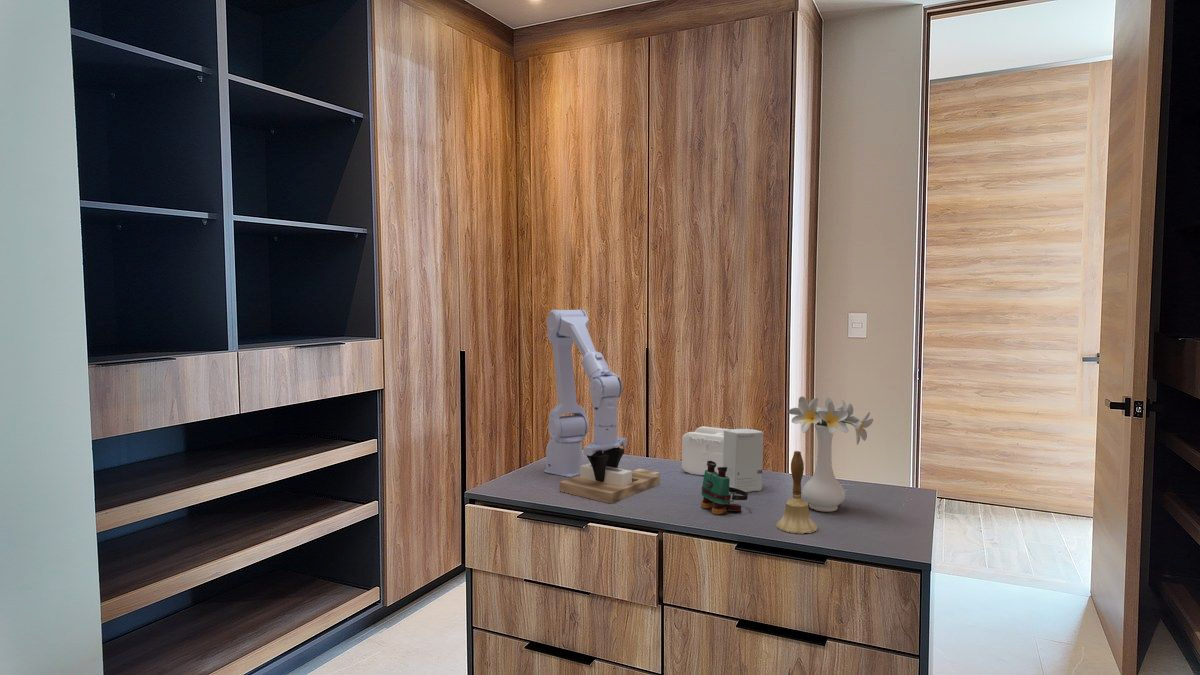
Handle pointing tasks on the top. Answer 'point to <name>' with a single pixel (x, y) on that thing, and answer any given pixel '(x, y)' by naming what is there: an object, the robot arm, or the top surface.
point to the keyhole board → (608, 487)
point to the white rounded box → (702, 449)
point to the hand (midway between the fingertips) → (605, 479)
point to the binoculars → (719, 490)
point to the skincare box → (743, 458)
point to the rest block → (648, 472)
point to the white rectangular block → (608, 475)
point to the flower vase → (826, 448)
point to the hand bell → (797, 503)
